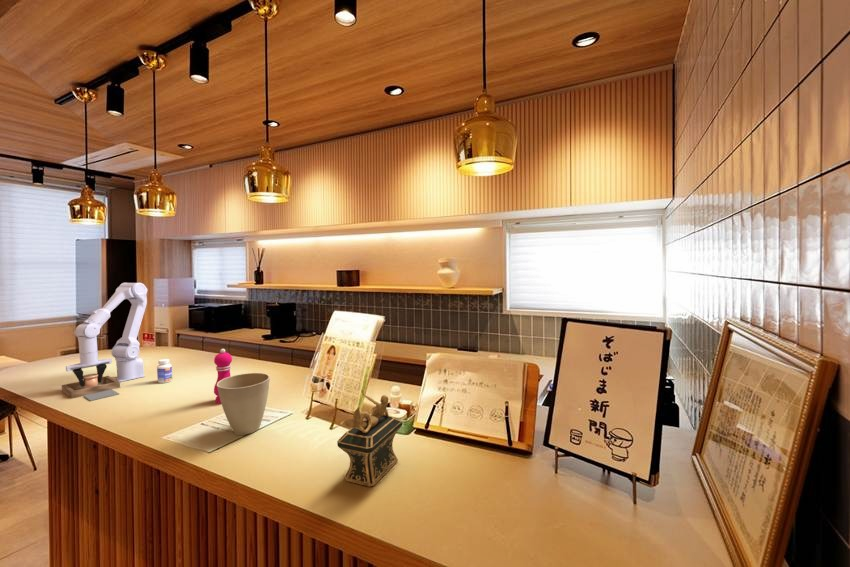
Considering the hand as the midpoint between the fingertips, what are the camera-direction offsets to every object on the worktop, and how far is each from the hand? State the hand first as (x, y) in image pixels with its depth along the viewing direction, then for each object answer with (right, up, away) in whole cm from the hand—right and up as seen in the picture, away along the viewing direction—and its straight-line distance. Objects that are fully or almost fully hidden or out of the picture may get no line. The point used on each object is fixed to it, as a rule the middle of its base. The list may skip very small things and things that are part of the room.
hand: (90, 384), depth 161 cm
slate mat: (+11, -3, -8) cm, 14 cm away
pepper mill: (+65, -2, -16) cm, 67 cm away
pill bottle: (+25, -1, +9) cm, 27 cm away
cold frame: (0, -2, 0) cm, 2 cm away
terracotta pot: (0, -2, 0) cm, 2 cm away
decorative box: (+127, -5, -67) cm, 143 cm away
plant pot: (+85, -4, -42) cm, 94 cm away
